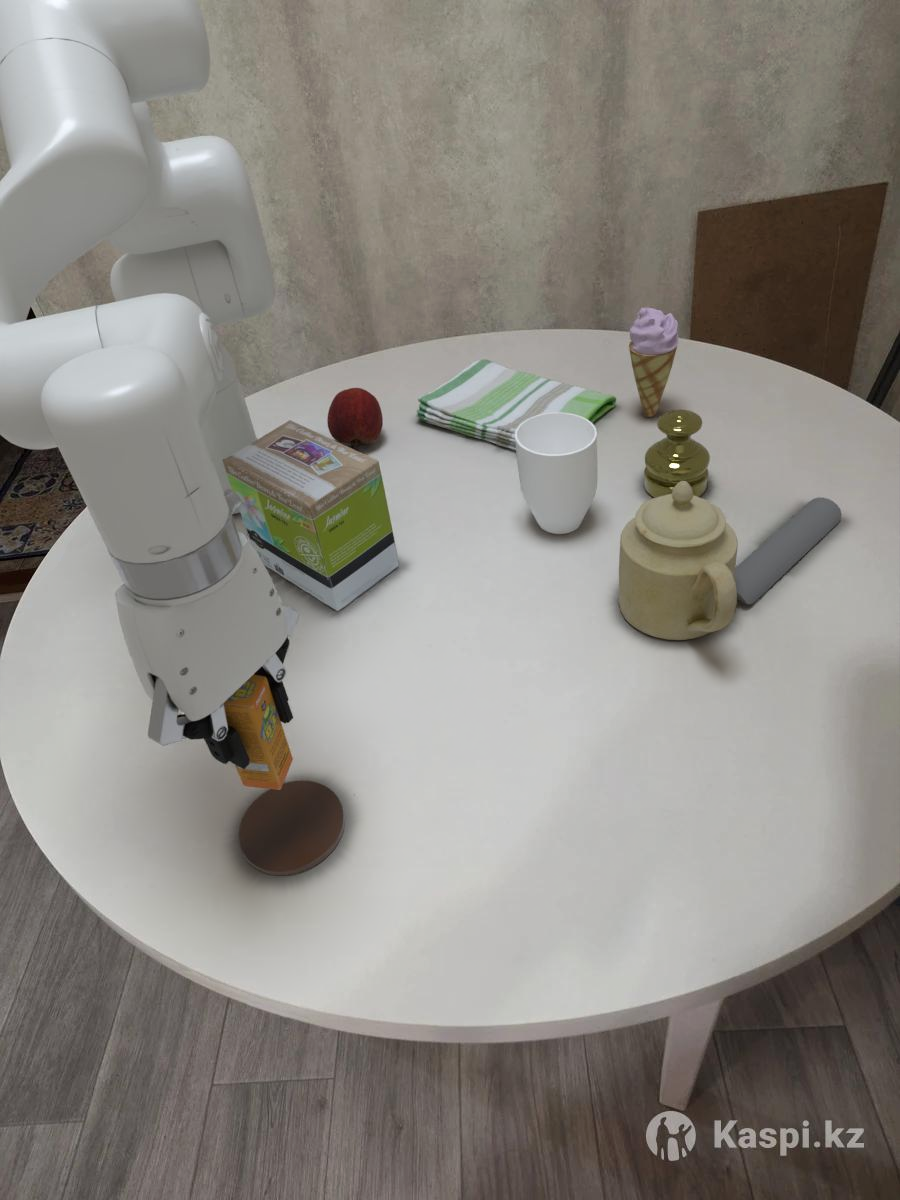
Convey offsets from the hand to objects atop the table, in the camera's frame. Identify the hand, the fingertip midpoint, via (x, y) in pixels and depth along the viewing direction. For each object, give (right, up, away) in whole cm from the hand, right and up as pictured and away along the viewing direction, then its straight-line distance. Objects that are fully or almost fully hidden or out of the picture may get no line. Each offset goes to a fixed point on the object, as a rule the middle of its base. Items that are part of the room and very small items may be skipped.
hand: (254, 735), depth 65 cm
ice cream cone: (+42, +35, +51) cm, 75 cm away
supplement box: (+1, -4, +3) cm, 5 cm away
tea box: (+1, +14, +35) cm, 37 cm away
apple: (+2, +32, +54) cm, 63 cm away
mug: (+28, +20, +37) cm, 50 cm away
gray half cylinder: (+50, +15, +27) cm, 59 cm away
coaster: (+1, -9, +8) cm, 12 cm away
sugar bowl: (+39, +9, +22) cm, 46 cm away
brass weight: (+42, +24, +38) cm, 62 cm away
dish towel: (+24, +36, +55) cm, 70 cm away
